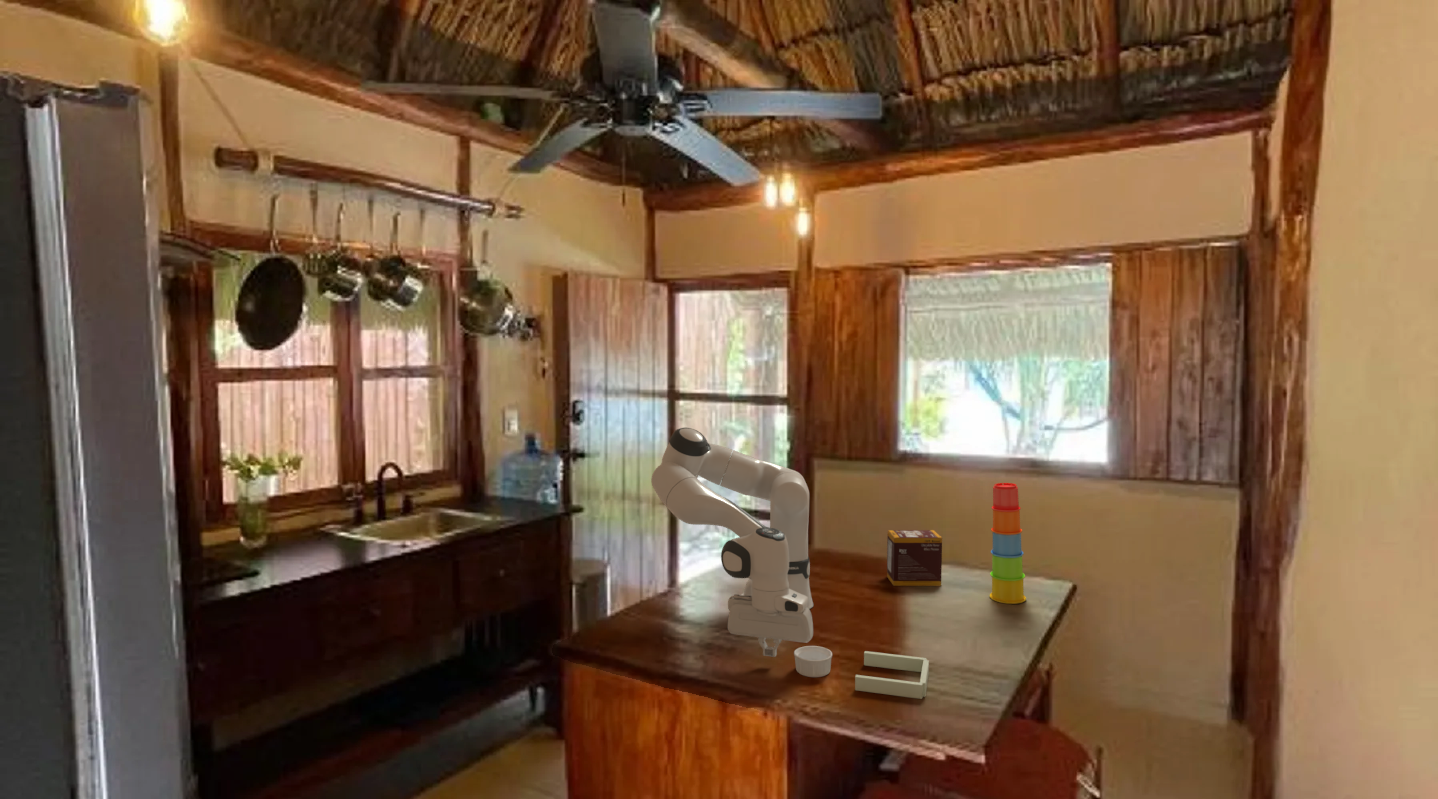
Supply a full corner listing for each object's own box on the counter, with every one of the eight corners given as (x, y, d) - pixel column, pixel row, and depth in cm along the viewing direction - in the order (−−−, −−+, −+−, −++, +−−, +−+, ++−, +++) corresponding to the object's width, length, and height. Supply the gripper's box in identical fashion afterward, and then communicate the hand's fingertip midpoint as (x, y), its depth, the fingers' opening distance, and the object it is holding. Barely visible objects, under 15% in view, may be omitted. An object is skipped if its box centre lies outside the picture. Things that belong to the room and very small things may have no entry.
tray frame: (855, 690, 171) (855, 676, 171) (864, 663, 186) (864, 651, 185) (924, 699, 166) (925, 685, 166) (929, 671, 181) (929, 658, 181)
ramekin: (822, 682, 176) (822, 663, 175) (787, 673, 180) (787, 655, 180) (838, 668, 183) (838, 650, 183) (804, 660, 188) (804, 642, 188)
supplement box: (942, 586, 246) (942, 537, 245) (893, 586, 246) (893, 537, 245) (933, 576, 256) (934, 529, 255) (886, 576, 257) (887, 529, 256)
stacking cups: (1026, 605, 227) (1029, 487, 224) (989, 602, 230) (991, 485, 228) (1025, 595, 236) (1027, 481, 234) (989, 592, 240) (991, 480, 237)
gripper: (723, 597, 184) (723, 654, 185) (809, 606, 178) (808, 665, 179) (732, 589, 190) (731, 645, 191) (814, 598, 184) (814, 655, 185)
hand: (769, 655), depth 185 cm, fingers closed
